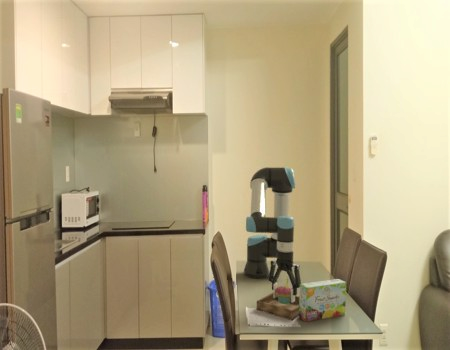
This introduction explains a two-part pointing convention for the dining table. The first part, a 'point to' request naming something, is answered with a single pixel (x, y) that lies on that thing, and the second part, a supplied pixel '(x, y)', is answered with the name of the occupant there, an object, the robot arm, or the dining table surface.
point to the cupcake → (283, 294)
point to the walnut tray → (279, 307)
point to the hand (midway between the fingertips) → (284, 299)
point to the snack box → (322, 299)
